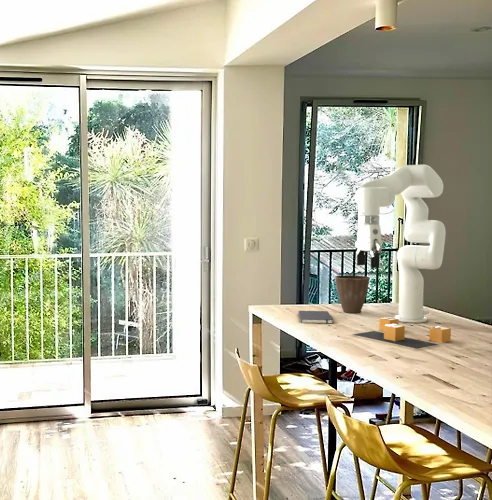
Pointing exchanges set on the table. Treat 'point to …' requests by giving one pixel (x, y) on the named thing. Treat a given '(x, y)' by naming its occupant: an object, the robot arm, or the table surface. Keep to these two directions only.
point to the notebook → (315, 317)
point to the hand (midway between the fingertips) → (367, 266)
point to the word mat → (406, 342)
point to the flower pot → (352, 292)
